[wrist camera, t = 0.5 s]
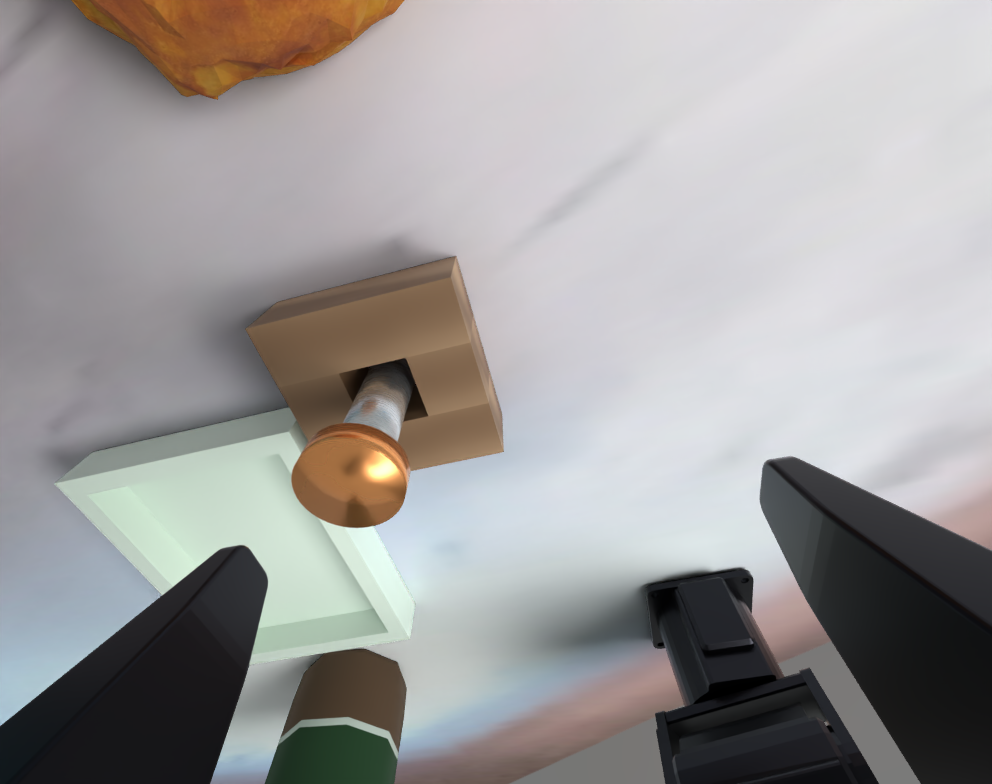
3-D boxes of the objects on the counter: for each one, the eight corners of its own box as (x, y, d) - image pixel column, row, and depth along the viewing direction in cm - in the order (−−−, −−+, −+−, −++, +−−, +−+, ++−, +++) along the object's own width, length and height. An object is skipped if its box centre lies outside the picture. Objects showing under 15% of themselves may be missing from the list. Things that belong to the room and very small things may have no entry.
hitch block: (502, 414, 23) (503, 451, 20) (351, 446, 24) (334, 486, 21) (456, 255, 19) (450, 277, 16) (277, 302, 20) (245, 329, 17)
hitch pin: (443, 385, 22) (420, 517, 15) (376, 400, 22) (320, 536, 15) (420, 320, 20) (381, 431, 13) (348, 337, 21) (270, 455, 13)
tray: (415, 603, 30) (410, 639, 28) (249, 632, 32) (232, 667, 29) (307, 402, 22) (288, 431, 20) (92, 452, 24) (54, 483, 22)
